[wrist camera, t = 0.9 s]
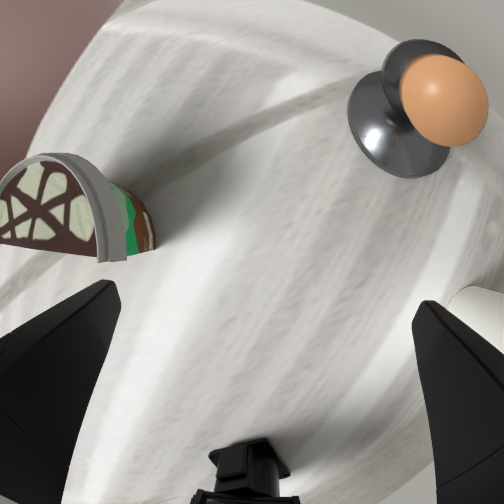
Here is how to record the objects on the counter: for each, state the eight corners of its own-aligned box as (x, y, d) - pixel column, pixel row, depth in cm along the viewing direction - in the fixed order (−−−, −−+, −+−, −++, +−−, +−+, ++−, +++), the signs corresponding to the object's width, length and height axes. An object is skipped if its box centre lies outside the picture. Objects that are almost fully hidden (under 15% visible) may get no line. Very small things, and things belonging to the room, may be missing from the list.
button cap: (450, 166, 16) (501, 148, 10) (381, 124, 16) (419, 88, 10) (459, 106, 15) (500, 79, 10) (395, 66, 15) (427, 25, 10)
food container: (179, 173, 22) (121, 135, 12) (172, 251, 22) (107, 264, 12) (63, 175, 22) (-12, 156, 12) (57, 239, 23) (-21, 244, 13)
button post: (433, 198, 21) (493, 186, 13) (332, 146, 21) (364, 104, 13) (450, 108, 20) (497, 77, 12) (362, 58, 20) (390, 6, 12)
